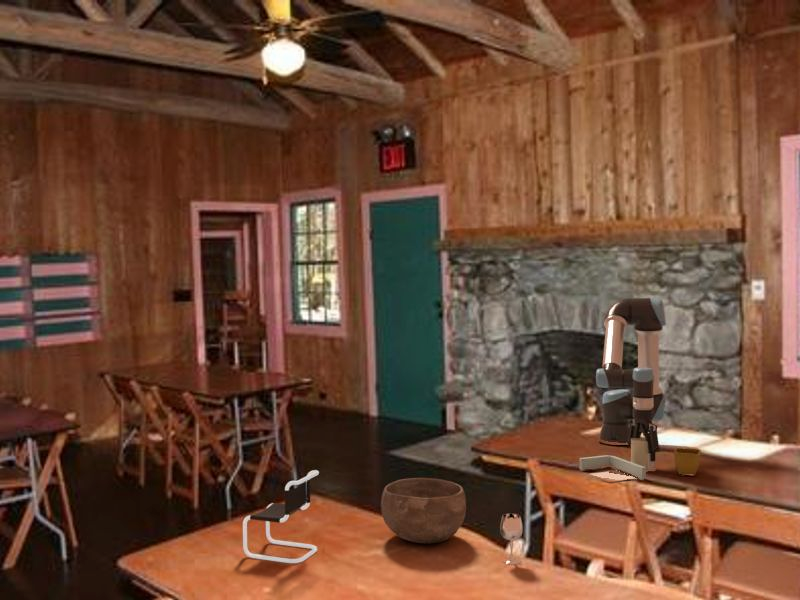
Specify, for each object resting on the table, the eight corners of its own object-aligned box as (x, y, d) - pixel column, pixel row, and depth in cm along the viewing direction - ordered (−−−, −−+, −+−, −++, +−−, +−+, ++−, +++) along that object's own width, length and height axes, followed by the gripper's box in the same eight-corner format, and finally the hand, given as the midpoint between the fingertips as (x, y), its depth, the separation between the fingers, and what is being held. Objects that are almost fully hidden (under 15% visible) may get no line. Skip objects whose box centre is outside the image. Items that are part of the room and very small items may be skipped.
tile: (616, 472, 300) (616, 470, 300) (636, 479, 289) (636, 478, 289) (589, 475, 296) (589, 473, 296) (608, 483, 285) (608, 481, 285)
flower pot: (701, 473, 298) (701, 449, 298) (699, 478, 290) (699, 454, 290) (676, 470, 302) (676, 447, 301) (673, 476, 294) (673, 452, 293)
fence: (610, 466, 310) (610, 454, 309) (645, 479, 289) (645, 467, 289) (579, 469, 305) (579, 458, 305) (612, 483, 284) (612, 471, 284)
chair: (299, 565, 208) (298, 481, 207) (242, 557, 214) (240, 476, 213) (322, 549, 220) (321, 470, 219) (267, 541, 226) (266, 465, 225)
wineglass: (498, 557, 211) (498, 513, 211) (519, 557, 212) (519, 512, 211) (503, 565, 206) (502, 520, 205) (525, 565, 206) (524, 519, 206)
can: (626, 469, 304) (626, 438, 304) (637, 465, 311) (637, 434, 311) (649, 473, 298) (649, 441, 298) (659, 468, 305) (659, 437, 304)
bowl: (439, 560, 210) (439, 503, 210) (364, 544, 223) (363, 491, 223) (480, 534, 231) (479, 483, 230) (409, 521, 244) (408, 472, 243)
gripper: (617, 404, 313) (617, 461, 313) (653, 413, 292) (653, 474, 293) (633, 403, 315) (633, 459, 316) (669, 412, 295) (669, 472, 296)
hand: (643, 466), depth 304 cm, fingers closed on can, 9 cm apart
